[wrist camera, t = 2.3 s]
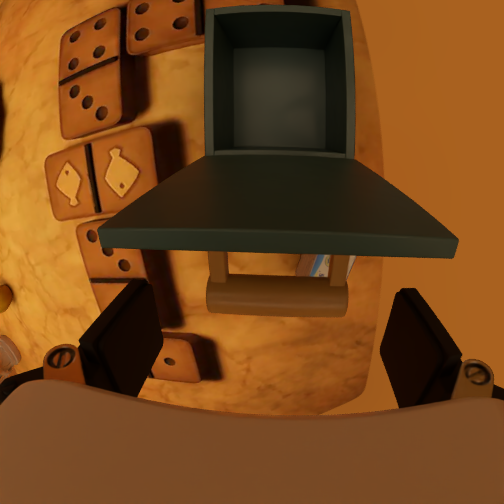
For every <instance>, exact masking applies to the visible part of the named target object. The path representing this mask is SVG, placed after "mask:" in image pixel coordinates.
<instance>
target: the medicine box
mask: <svg viewBox="0 0 504 504" xmlns="http://www.w3.org/2000/svg"><path fill="white" fill-rule="evenodd" d="M355 258H356V256H350V260H349V266H348V271H347V277H348V275H349V273H350V270H351V268H352V265H353V263H354V261H355ZM329 262H330V255H317V254H302V255H301V258H300V261H299V264H298V267H297V270H296V276H312V277H327V276H328V269H329ZM347 277H346V280H347Z"/></svg>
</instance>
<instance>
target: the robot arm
mask: <svg viewBox="0 0 504 504" xmlns="http://www.w3.org/2000/svg"><path fill="white" fill-rule="evenodd" d="M79 343H80V346H79V347H78V348H77V347H75V346H74V345H71V344H61V345H58V346H55V347H53V348H52V349H50V350H49V351H48V352H47V353H46V355H45V357H44V360H43V367H40V368H36V369H33V370H30V371H27V372H24V373H21V374H17V375H14V376H11V377H9V378H6V379H4V380H3V381H2V383H1V384H0V504H504V389H503V388H501V387H498V386H496V385H494V374H493V372H492V370H491V368H490V367H489V366H488V365H487V364H485V363H484V362H482V361H480V360H476V359H469V360H465V361H464V362H462V361H461V359H460V358H461V356H462V353H461V352H460V350H459V348H458V347H457V345H456V344H455V342H454V341H453V339H452V338H451V336H450V335H449V333H448V332H447V330H446V329H445V327H444V326H443V325H442V323H441V322H440V320H439V319H438V318H437V316H436V315H435V313H434V312H433V311H432V309H431V308H430V307H429V305H428V304H427V303H426V301H425V300H424V299H423V297H422V296H421V295H420V293H419V292H418V291H417V289H415V288H402V289H401V290H400V291H399V292H397V293H396V294H395V298H394V302H393V305H392V309H391V313H390V317H389V320H388V323H387V327H386V330H385V333H384V336H383V340H382V343H381V346H380V355H381V358H382V361H383V363H384V366H385V369H386V371H387V374H388V377H389V380H390V382H391V386H392V388H393V391H394V394H395V397H396V400H397V403H398V406H399V409H391V410H384V411H375V412H366V413H354V414H339V415H311V416H284V415H258V414H243V413H231V412H221V411H212V410H204V409H197V408H190V407H183V406H177V405H171V404H166V403H161V402H156V401H151V400H146V399H141V398H137V396H138V394H139V392H140V390H141V388H142V386H143V384H144V382H145V380H146V378H147V376H148V374H149V372H150V370H151V368H152V366H153V364H154V362H155V360H156V358H157V356H158V354H159V352H160V350H161V348H162V346H163V335H162V331H161V326H160V322H159V317H158V312H157V308H156V303H155V297H154V292H153V287H152V285H151V284H149V283H148V281H147V280H138V279H133V280H131V281H130V282H129V283H128V285H127V286H126V287H125V288H124V289H123V290H122V291H121V292H120V293H119V294H118V295H117V297H116V298H115V299H114V300H113V301H112V302H111V303H110V304H109V305H108V307H107V308H106V309H105V310H104V311H103V312H102V313H101V314H100V316H99V317H98V318H97V319H96V320H95V321H94V322H93V324H92V325H91V326H90V327H89V328H88V329H87V331H86V332H85V333H84V334H83V335H82V337H81V338H80V339H79Z"/></svg>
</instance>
